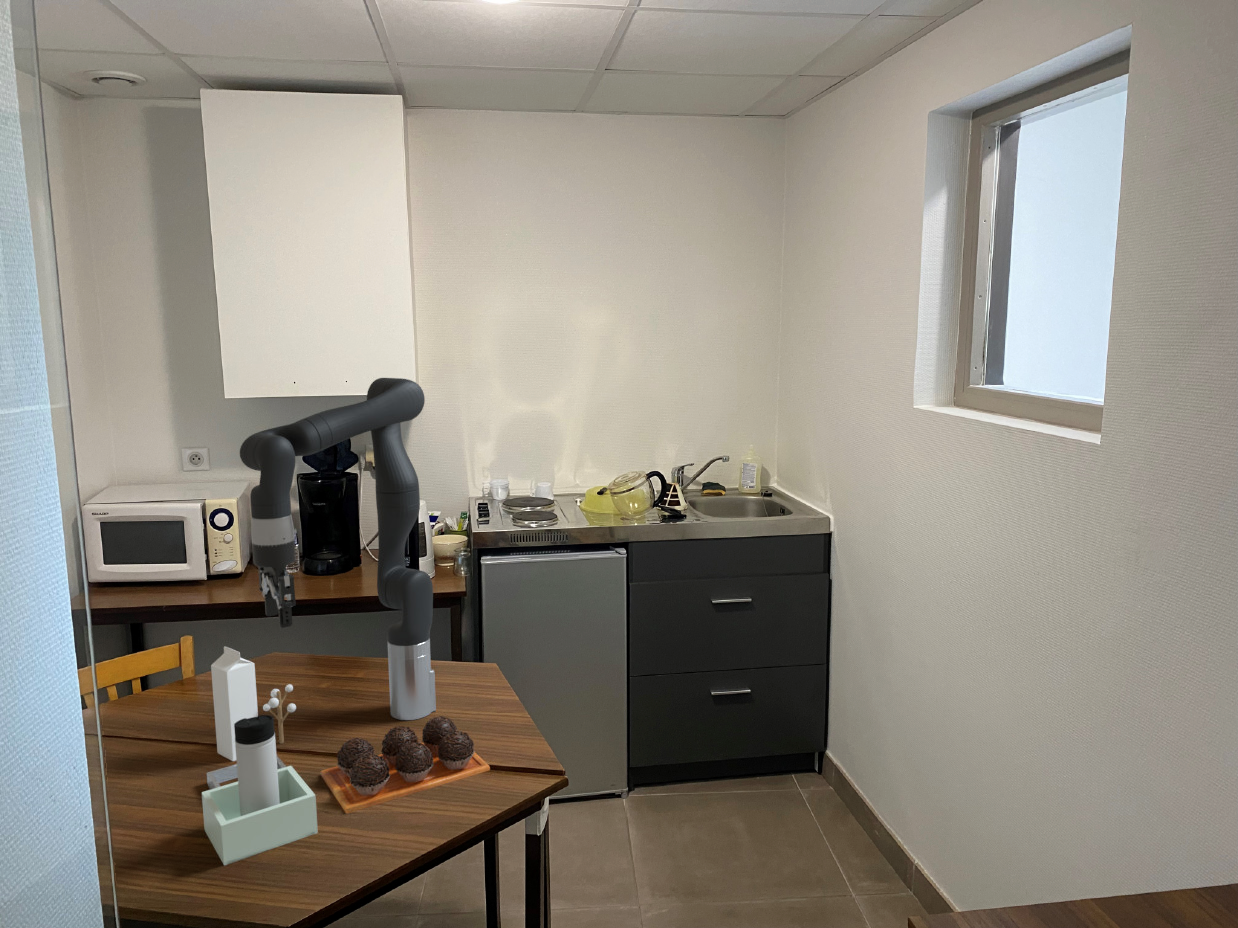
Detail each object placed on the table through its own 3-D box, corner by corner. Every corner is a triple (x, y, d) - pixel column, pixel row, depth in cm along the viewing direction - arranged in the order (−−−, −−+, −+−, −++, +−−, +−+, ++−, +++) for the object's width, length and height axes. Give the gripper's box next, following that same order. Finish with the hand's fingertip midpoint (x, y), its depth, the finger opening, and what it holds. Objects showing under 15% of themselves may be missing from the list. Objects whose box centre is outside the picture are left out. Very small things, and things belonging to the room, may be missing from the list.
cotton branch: (298, 747, 179) (294, 692, 177) (264, 752, 177) (260, 696, 175) (299, 732, 186) (296, 679, 184) (266, 736, 184) (263, 682, 182)
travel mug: (244, 843, 144) (235, 729, 141) (239, 823, 150) (231, 714, 147) (284, 832, 147) (276, 721, 144) (278, 814, 153) (270, 706, 150)
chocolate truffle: (456, 740, 183) (455, 702, 182) (490, 773, 170) (489, 732, 168) (321, 778, 168) (318, 737, 167) (346, 817, 154) (344, 773, 153)
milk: (244, 742, 182) (238, 641, 178) (260, 750, 178) (254, 647, 175) (216, 753, 177) (209, 649, 174) (232, 762, 173) (225, 656, 170)
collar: (275, 764, 172) (275, 752, 172) (294, 788, 163) (294, 776, 163) (207, 784, 164) (206, 772, 164) (223, 811, 155) (222, 798, 155)
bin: (293, 802, 158) (291, 765, 157) (317, 834, 148) (315, 795, 147) (204, 831, 149) (201, 792, 148) (224, 867, 139) (221, 825, 138)
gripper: (305, 542, 161) (311, 626, 164) (281, 529, 172) (286, 607, 175) (264, 549, 157) (270, 635, 159) (241, 534, 168) (247, 615, 170)
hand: (278, 620), depth 167 cm, fingers open, 8 cm apart
